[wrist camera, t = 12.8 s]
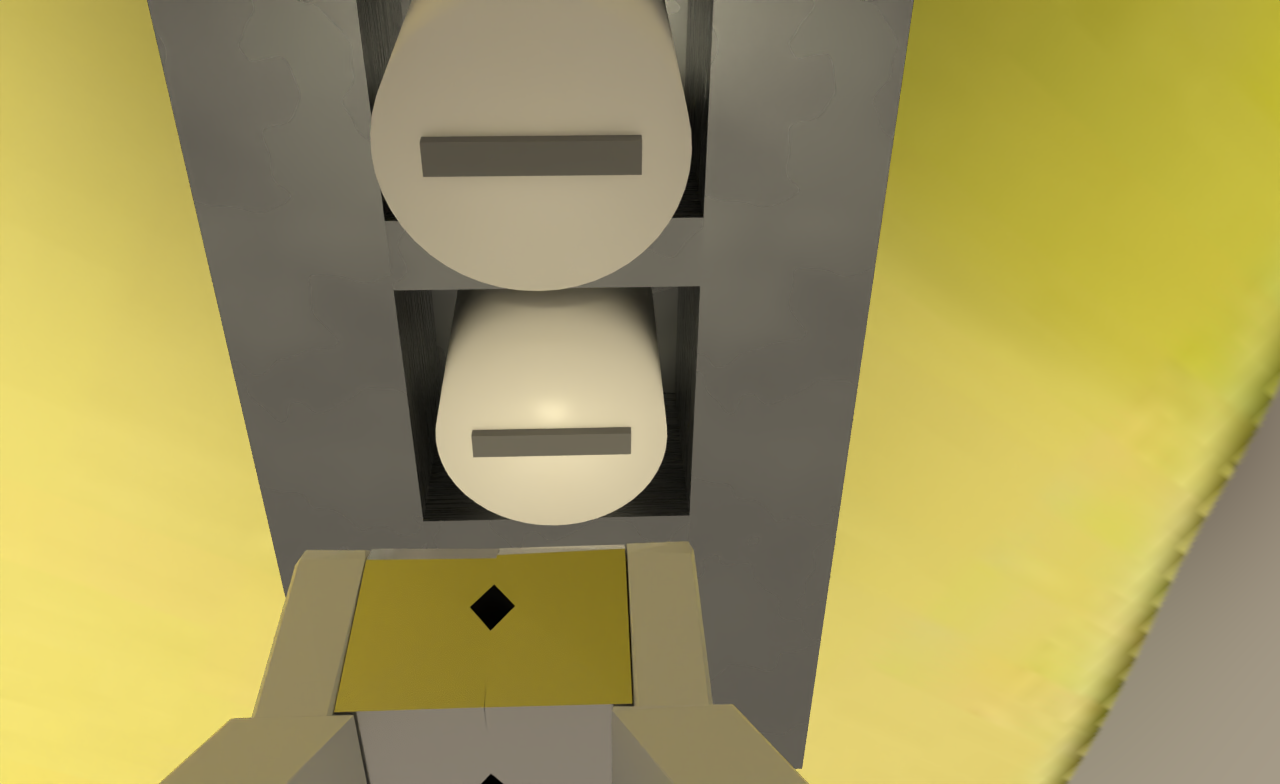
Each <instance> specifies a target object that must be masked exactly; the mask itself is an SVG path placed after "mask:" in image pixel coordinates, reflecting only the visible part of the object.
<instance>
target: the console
mask: <svg viewBox="0 0 1280 784" xmlns="http://www.w3.org/2000/svg"><path fill="white" fill-rule="evenodd" d="M147 2H148V6H149V10H150V15H151V19H152V23H153V27H154V32H155V36H156V40H157V45H158V49H159V53H160V58H161V62H162V66H163V71H164V75H165V79H166V84H167V88H168V92H169V97H170V101H171V105H172V109H173V114H174V118H175V122H176V127H177V131H178V135H179V140H180V144H181V148H182V153H183V157H184V161H185V166H186V170H187V174H188V178H189V183H190V187H191V191H192V196H193V200H194V204H195V209H196V213H197V217H198V222H199V226H200V230H201V235H202V239H203V243H204V248H205V252H206V256H207V260H208V265H209V269H210V273H211V278H212V282H213V286H214V291H215V295H216V299H217V304H218V308H219V312H220V317H221V321H222V325H223V330H224V334H225V338H226V342H227V347H228V351H229V355H230V360H231V364H232V368H233V373H234V377H235V381H236V386H237V390H238V394H239V399H240V403H241V407H242V412H243V416H244V420H245V424H246V429H247V433H248V437H249V442H250V446H251V450H252V455H253V459H254V463H255V468H256V472H257V476H258V481H259V485H260V489H261V493H262V498H263V502H264V506H265V511H266V515H267V519H268V524H269V528H270V532H271V537H272V541H273V545H274V550H275V554H276V558H277V563H278V567H279V571H280V575H281V580H282V584H283V588H284V593H285V597H286V596H287V592H288V589H289V585H290V582H291V578H292V575H293V571H294V568H295V564H296V563H297V562H298V560H299V559H300V558H301V556H302V555H303V554H304V552H305V551H306V550H369V551H371V550H372V549H500V548H529V547H561V546H593V545H624V547H625V549H626V544H630V543H656V542H681V541H688V542H689V543H690V545H691V546H692V548H693V549H694V555H695V563H696V571H697V580H698V588H699V596H700V604H701V612H702V620H703V628H704V636H705V644H706V652H707V661H708V669H709V677H710V685H711V693H712V701H713V704H733V705H734V706H735V707H736V708H737V709H738V710H739V711H740V712H741V713H742V714H743V715H744V716H745V718H746V719H747V720H748V721H749V722H750V723H751V724H752V725H753V726H754V727H755V728H756V729H757V730H758V731H759V732H760V733H761V734H762V735H763V736H764V737H765V738H766V739H767V741H768V742H769V743H770V744H771V745H772V746H773V747H774V748H775V749H776V750H777V751H778V752H779V753H780V754H781V755H782V756H783V757H784V758H785V759H786V760H787V761H788V763H789V764H790V765H791V766H792V767H793V768H794V769H802V765H803V758H804V751H805V744H806V737H807V731H808V724H809V717H810V710H811V703H812V696H813V689H814V682H815V676H816V669H817V662H818V655H819V648H820V641H821V634H822V627H823V621H824V614H825V607H826V600H827V593H828V586H829V579H830V572H831V566H832V559H833V552H834V545H835V538H836V531H837V524H838V517H839V511H840V504H841V497H842V490H843V483H844V476H845V469H846V462H847V456H848V449H849V442H850V435H851V428H852V421H853V414H854V408H855V401H856V394H857V387H858V380H859V373H860V366H861V359H862V353H863V346H864V339H865V332H866V325H867V318H868V311H869V304H870V298H871V291H872V284H873V277H874V270H875V263H876V256H877V249H878V243H879V236H880V229H881V222H882V215H883V208H884V201H885V194H886V188H887V181H888V174H889V167H890V160H891V153H892V146H893V139H894V133H895V126H896V119H897V112H898V105H899V98H900V91H901V84H902V78H903V71H904V64H905V57H906V50H907V43H908V36H909V29H910V23H911V16H912V9H913V2H914V0H665V4H666V9H667V14H668V19H669V24H670V28H671V33H672V38H673V43H674V48H675V53H676V57H677V62H678V67H679V72H680V77H681V82H682V86H683V91H684V96H685V101H686V106H687V111H688V116H689V122H690V128H691V141H692V155H691V164H690V172H689V176H688V180H687V184H686V188H685V191H684V193H683V196H682V198H681V201H680V203H679V205H678V208H677V209H676V211H675V213H674V215H673V216H672V218H671V220H670V222H669V223H668V225H667V226H666V227H665V229H664V230H663V231H662V232H661V234H660V235H659V236H658V238H657V239H656V240H655V241H654V242H653V243H652V244H651V245H650V246H649V247H648V248H647V249H646V250H645V251H644V252H643V253H641V254H640V255H639V256H637V257H636V258H635V259H634V260H632V261H631V262H630V263H628V264H627V265H625V266H623V267H622V268H620V269H618V270H617V271H615V272H613V273H611V274H609V275H607V276H605V277H602V278H600V279H598V280H596V281H592V282H589V283H586V284H583V285H579V286H576V287H570V288H606V287H651V288H652V294H653V303H654V312H655V322H656V331H657V340H658V349H659V359H660V368H661V377H662V387H663V396H664V405H665V415H666V424H667V443H666V450H665V453H664V457H663V460H662V463H661V465H660V467H659V469H658V471H657V473H656V474H655V476H654V477H653V479H652V480H651V482H650V483H649V484H648V485H647V486H646V488H645V489H644V490H643V491H642V492H641V493H640V494H638V495H637V496H636V497H635V498H634V499H633V500H631V501H630V502H628V503H627V504H625V505H624V506H623V507H621V508H619V509H617V510H615V511H613V512H611V513H609V514H607V515H604V516H602V517H599V518H596V519H593V520H589V521H585V522H581V523H575V524H568V525H537V524H529V523H524V522H520V521H515V520H512V519H509V518H506V517H503V516H500V515H498V514H496V513H493V512H491V511H489V510H487V509H485V508H484V507H482V506H480V505H479V504H477V503H476V502H474V501H473V500H472V499H470V498H469V497H468V496H467V495H465V494H464V493H463V492H462V491H461V490H460V489H459V488H458V487H457V486H456V484H455V483H454V482H453V481H452V479H451V478H450V477H449V475H448V473H447V472H446V470H445V468H444V466H443V464H442V462H441V459H440V456H439V454H438V449H437V444H436V423H437V416H438V409H439V403H440V397H441V391H442V384H443V378H444V372H445V366H446V359H447V353H448V347H449V341H450V334H451V328H452V322H453V316H454V309H455V303H456V297H457V290H463V289H508V288H501V287H497V286H494V285H490V284H486V283H483V282H480V281H477V280H475V279H472V278H470V277H467V276H465V275H462V274H460V273H459V272H457V271H455V270H453V269H451V268H449V267H447V266H446V265H444V264H443V263H441V262H440V261H438V260H437V259H436V258H434V257H433V256H431V255H430V254H429V253H428V252H426V251H425V250H424V249H423V248H422V247H421V246H420V245H419V244H417V243H416V242H415V241H414V240H413V239H412V237H411V236H410V235H409V234H408V233H407V232H406V231H405V229H404V228H403V227H402V226H401V224H400V223H399V222H398V220H397V219H396V217H395V216H394V214H393V213H392V211H391V210H390V208H389V206H388V204H387V202H386V200H385V198H384V196H383V194H382V192H381V189H380V186H379V183H378V180H377V177H376V174H375V170H374V165H373V160H372V155H371V141H370V130H371V118H372V112H373V107H374V103H375V98H376V95H377V92H378V89H379V86H380V84H381V81H382V78H383V76H384V73H385V70H386V67H387V65H388V62H389V59H390V57H391V54H392V51H393V49H394V46H395V43H396V40H397V38H398V35H399V32H400V30H401V27H402V24H403V22H404V19H405V16H406V13H407V11H408V8H409V5H410V3H411V0H147Z"/></svg>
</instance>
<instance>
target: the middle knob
mask: <svg viewBox="0 0 1280 784" xmlns="http://www.w3.org/2000/svg"><path fill="white" fill-rule="evenodd" d="M666 443H667V424H666V415H665V405H664V396H663V387H662V377H661V368H660V359H659V349H658V340H657V331H656V322H655V312H654V303H653V294H652V288H651V287H606V288H565V289H560V290H548V291H524V290H514V289H463V290H457V297H456V303H455V309H454V316H453V322H452V328H451V334H450V341H449V347H448V353H447V359H446V366H445V372H444V378H443V384H442V391H441V397H440V403H439V409H438V416H437V423H436V444H437V449H438V454H439V456H440V459H441V462H442V464H443V466H444V468H445V470H446V472H447V473H448V475H449V477H450V478H451V479H452V481H453V482H454V483H455V484H456V486H457V487H458V488H459V489H460V490H461V491H462V492H463V493H464V494H465V495H467V496H468V497H469V498H470V499H472V500H473V501H474V502H476V503H477V504H479V505H480V506H482V507H484V508H485V509H487V510H489V511H491V512H493V513H496V514H498V515H500V516H503V517H506V518H509V519H512V520H515V521H520V522H524V523H529V524H537V525H568V524H575V523H581V522H585V521H589V520H593V519H596V518H599V517H602V516H604V515H607V514H609V513H611V512H613V511H615V510H617V509H619V508H621V507H623V506H624V505H625V504H627V503H628V502H630V501H631V500H633V499H634V498H635V497H636V496H637V495H638V494H640V493H641V492H642V491H643V490H644V489H645V488H646V486H647V485H648V484H649V483H650V482H651V480H652V479H653V477H654V476H655V474H656V473H657V471H658V469H659V467H660V465H661V463H662V460H663V457H664V453H665V450H666Z"/></svg>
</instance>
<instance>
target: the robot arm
mask: <svg viewBox="0 0 1280 784" xmlns="http://www.w3.org/2000/svg"><path fill="white" fill-rule="evenodd" d="M159 784H809V783H808V782H807V781H806V780H805V779H804V778H803V777H802V776H801V775H800V774H799V773H798V772H797V771H796V770H795V769H794V768H793V767H792V766H791V765H790V764H789V763H788V761H787V760H786V759H785V758H784V757H783V756H782V755H781V754H780V753H779V752H778V751H777V750H776V749H775V748H774V747H773V746H772V745H771V744H770V743H769V742H768V741H767V739H766V738H765V737H764V736H763V735H762V734H761V733H760V732H759V731H758V730H757V729H756V728H755V727H754V726H753V725H752V724H751V723H750V722H749V721H748V720H747V719H746V718H745V716H744V715H743V714H742V713H741V712H740V711H739V710H738V709H737V708H736V707H735V706H734V705H733V704H713V701H712V693H711V685H710V677H709V669H708V661H707V652H706V644H705V636H704V628H703V620H702V612H701V604H700V596H699V588H698V580H697V571H696V563H695V555H694V549H693V548H692V546H691V545H690V543H689V542H688V541H681V542H656V543H630V544H626V549H625V547H624V545H593V546H561V547H529V548H500V549H372V550H371V551H369V550H306V551H305V552H304V554H303V555H302V556H301V558H300V559H299V560H298V562H297V563H296V564H295V568H294V571H293V575H292V578H291V582H290V585H289V589H288V592H287V596H286V599H285V603H284V606H283V610H282V613H281V617H280V620H279V624H278V627H277V631H276V634H275V637H274V641H273V644H272V648H271V651H270V655H269V658H268V662H267V665H266V669H265V672H264V676H263V679H262V683H261V686H260V690H259V693H258V697H257V700H256V704H255V707H254V711H253V714H252V718H234V719H230V720H229V721H228V722H227V723H225V724H224V725H223V726H222V727H221V728H220V729H219V730H218V731H217V732H215V733H214V734H213V735H212V736H211V737H210V738H209V739H208V740H207V741H205V742H204V743H203V744H202V745H201V746H200V747H199V748H198V749H197V750H195V751H194V752H193V753H192V754H191V755H190V756H189V757H188V758H187V759H185V760H184V761H183V762H182V763H181V764H180V765H179V766H178V767H177V768H175V769H174V770H173V771H172V772H171V773H170V774H169V775H168V776H167V777H165V778H164V779H163V780H162V781H161V782H160V783H159Z"/></svg>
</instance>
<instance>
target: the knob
mask: <svg viewBox="0 0 1280 784" xmlns="http://www.w3.org/2000/svg"><path fill="white" fill-rule="evenodd" d="M370 141H371V155H372V160H373V165H374V170H375V174H376V177H377V180H378V183H379V186H380V189H381V192H382V194H383V196H384V198H385V200H386V202H387V204H388V206H389V208H390V210H391V211H392V213H393V214H394V216H395V217H396V219H397V220H398V222H399V223H400V224H401V226H402V227H403V228H404V229H405V231H406V232H407V233H408V234H409V235H410V236H411V237H412V239H413V240H414V241H415V242H416V243H417V244H419V245H420V246H421V247H422V248H423V249H424V250H425V251H426V252H428V253H429V254H430V255H431V256H433V257H434V258H436V259H437V260H438V261H440V262H441V263H443V264H444V265H446V266H447V267H449V268H451V269H453V270H455V271H457V272H459V273H460V274H462V275H465V276H467V277H470V278H472V279H475V280H477V281H480V282H483V283H486V284H490V285H494V286H497V287H501V288H508V289H514V290H524V291H548V290H560V289H565V288H570V287H576V286H579V285H583V284H586V283H589V282H592V281H596V280H598V279H600V278H602V277H605V276H607V275H609V274H611V273H613V272H615V271H617V270H618V269H620V268H622V267H623V266H625V265H627V264H628V263H630V262H631V261H632V260H634V259H635V258H636V257H637V256H639V255H640V254H641V253H643V252H644V251H645V250H646V249H647V248H648V247H649V246H650V245H651V244H652V243H653V242H654V241H655V240H656V239H657V238H658V236H659V235H660V234H661V232H662V231H663V230H664V229H665V227H666V226H667V225H668V223H669V222H670V220H671V218H672V216H673V215H674V213H675V211H676V209H677V208H678V205H679V203H680V201H681V198H682V196H683V193H684V191H685V188H686V184H687V180H688V176H689V172H690V164H691V155H692V141H691V128H690V122H689V116H688V111H687V106H686V101H685V96H684V91H683V86H682V82H681V77H680V72H679V67H678V62H677V57H676V53H675V48H674V43H673V38H672V33H671V28H670V24H669V19H668V14H667V9H666V4H665V0H411V3H410V5H409V8H408V11H407V13H406V16H405V19H404V22H403V24H402V27H401V30H400V32H399V35H398V38H397V40H396V43H395V46H394V49H393V51H392V54H391V57H390V59H389V62H388V65H387V67H386V70H385V73H384V76H383V78H382V81H381V84H380V86H379V89H378V92H377V95H376V98H375V103H374V107H373V112H372V118H371V130H370Z"/></svg>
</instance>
